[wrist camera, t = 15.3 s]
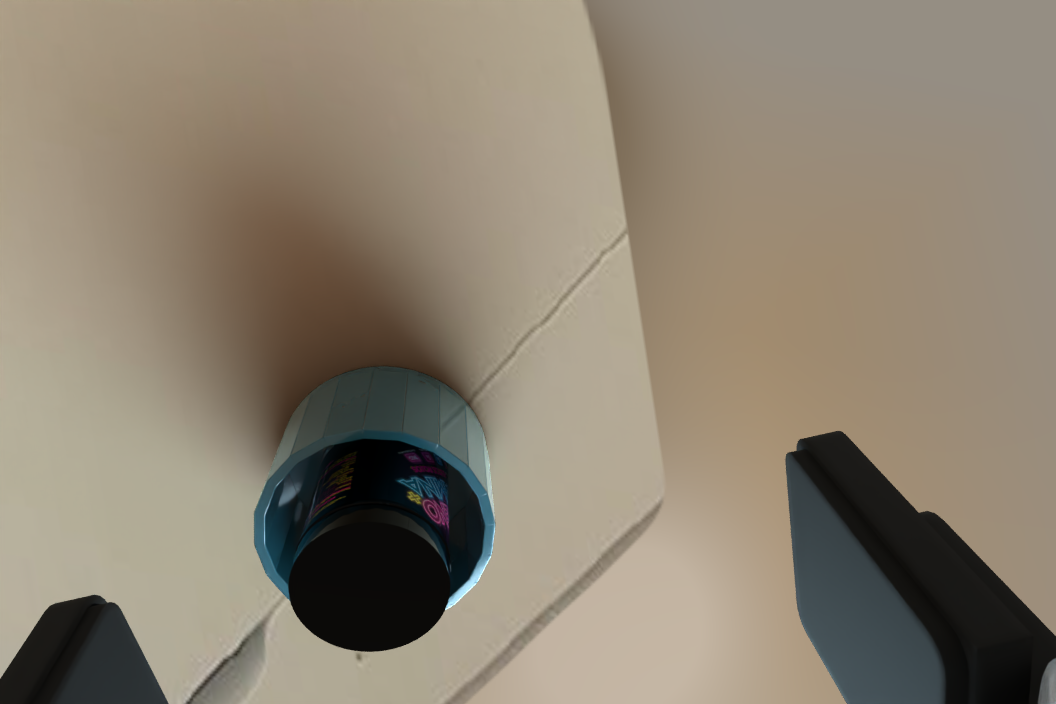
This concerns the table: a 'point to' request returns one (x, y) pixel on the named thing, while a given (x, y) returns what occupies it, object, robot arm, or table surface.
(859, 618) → the robot arm
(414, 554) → the supplement container
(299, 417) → the cup
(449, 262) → the table surface
